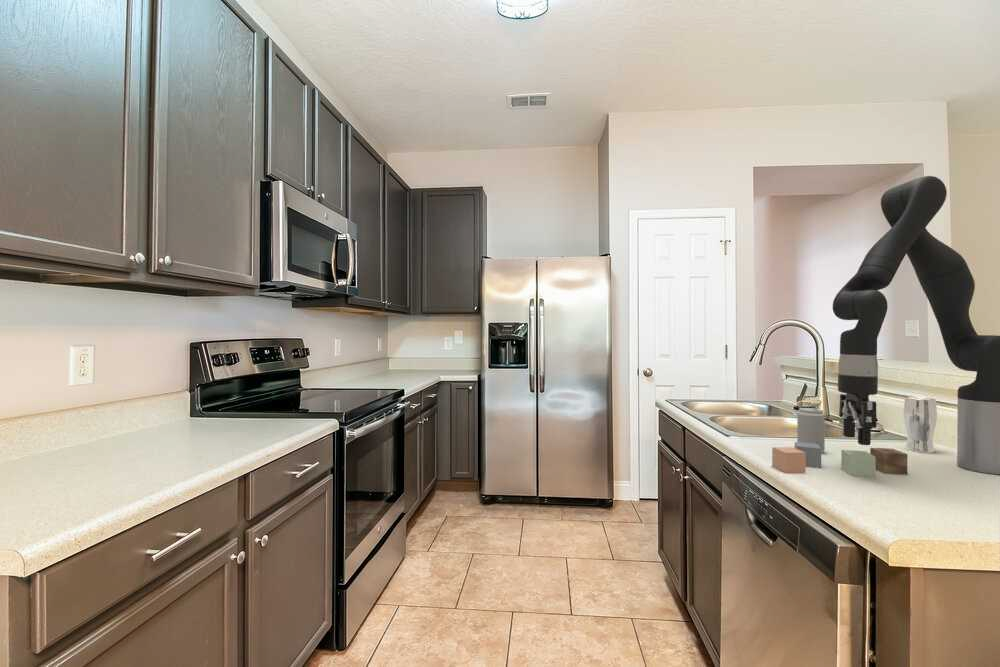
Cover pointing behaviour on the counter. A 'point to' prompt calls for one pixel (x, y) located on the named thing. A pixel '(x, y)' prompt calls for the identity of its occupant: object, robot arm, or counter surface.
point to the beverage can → (811, 427)
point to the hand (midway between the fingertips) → (856, 440)
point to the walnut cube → (889, 460)
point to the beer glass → (920, 423)
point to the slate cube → (810, 453)
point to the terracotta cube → (789, 459)
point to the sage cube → (858, 463)
